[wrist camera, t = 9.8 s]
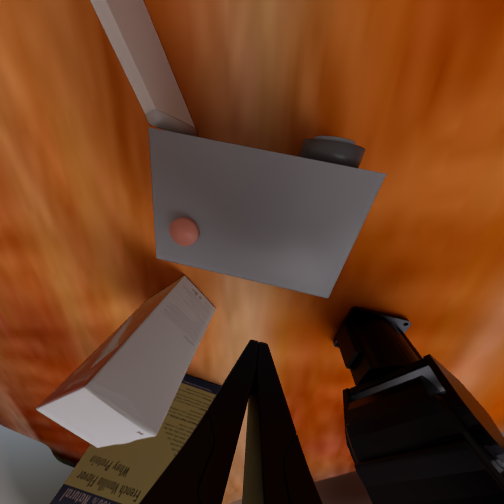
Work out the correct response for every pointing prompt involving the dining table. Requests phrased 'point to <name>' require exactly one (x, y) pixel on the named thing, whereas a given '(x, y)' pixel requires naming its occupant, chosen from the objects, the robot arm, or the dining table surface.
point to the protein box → (138, 454)
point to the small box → (134, 370)
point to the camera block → (260, 208)
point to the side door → (145, 63)
